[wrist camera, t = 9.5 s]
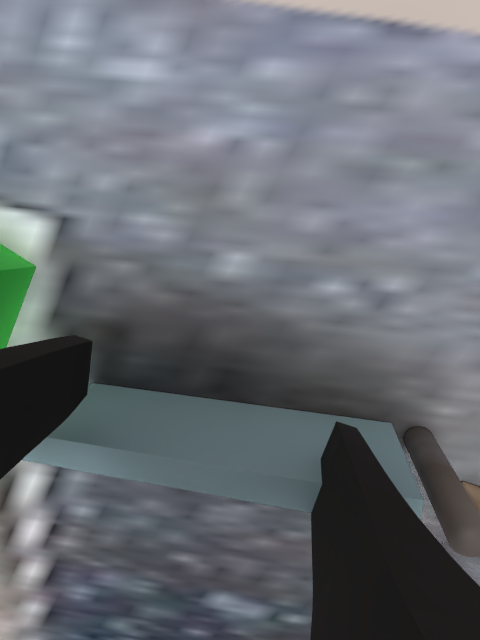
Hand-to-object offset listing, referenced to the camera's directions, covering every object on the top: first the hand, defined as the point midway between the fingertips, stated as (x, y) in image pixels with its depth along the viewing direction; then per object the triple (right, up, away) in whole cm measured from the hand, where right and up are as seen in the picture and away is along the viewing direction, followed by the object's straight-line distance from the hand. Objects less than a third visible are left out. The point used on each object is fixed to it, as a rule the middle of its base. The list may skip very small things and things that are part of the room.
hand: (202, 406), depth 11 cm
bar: (+1, -1, +3) cm, 3 cm away
